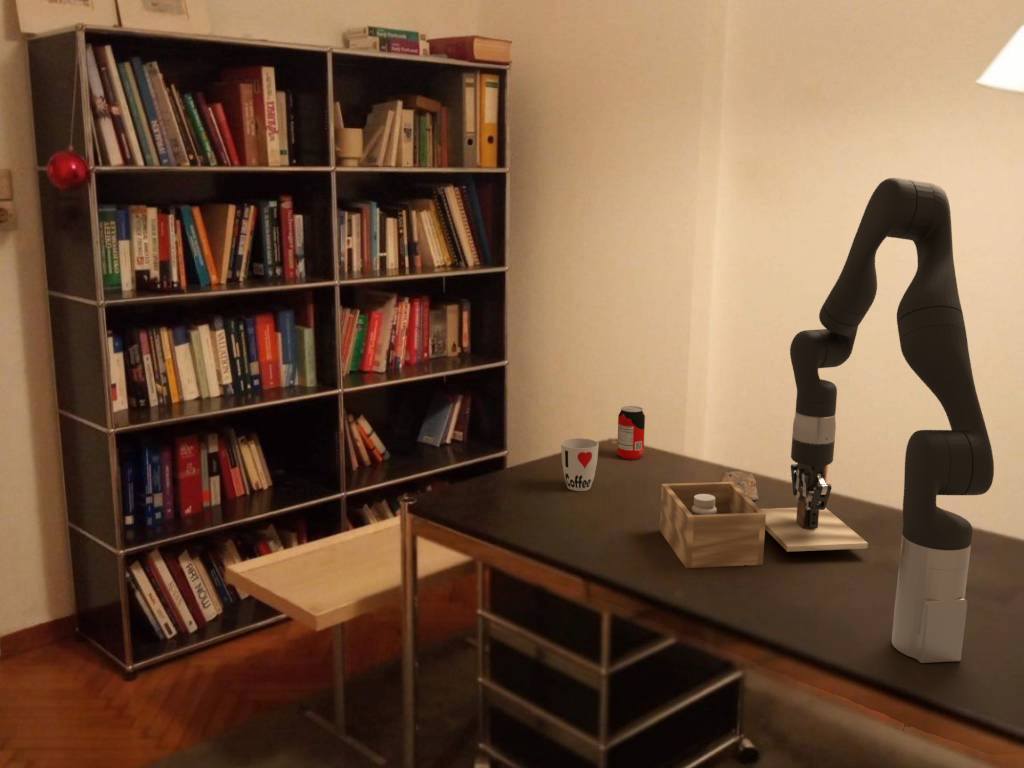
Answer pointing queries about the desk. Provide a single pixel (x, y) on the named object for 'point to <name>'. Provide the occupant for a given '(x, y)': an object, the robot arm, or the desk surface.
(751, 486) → the rock
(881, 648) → the desk surface
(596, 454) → the cup
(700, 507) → the pill bottle
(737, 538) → the box
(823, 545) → the lid
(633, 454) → the beverage can
